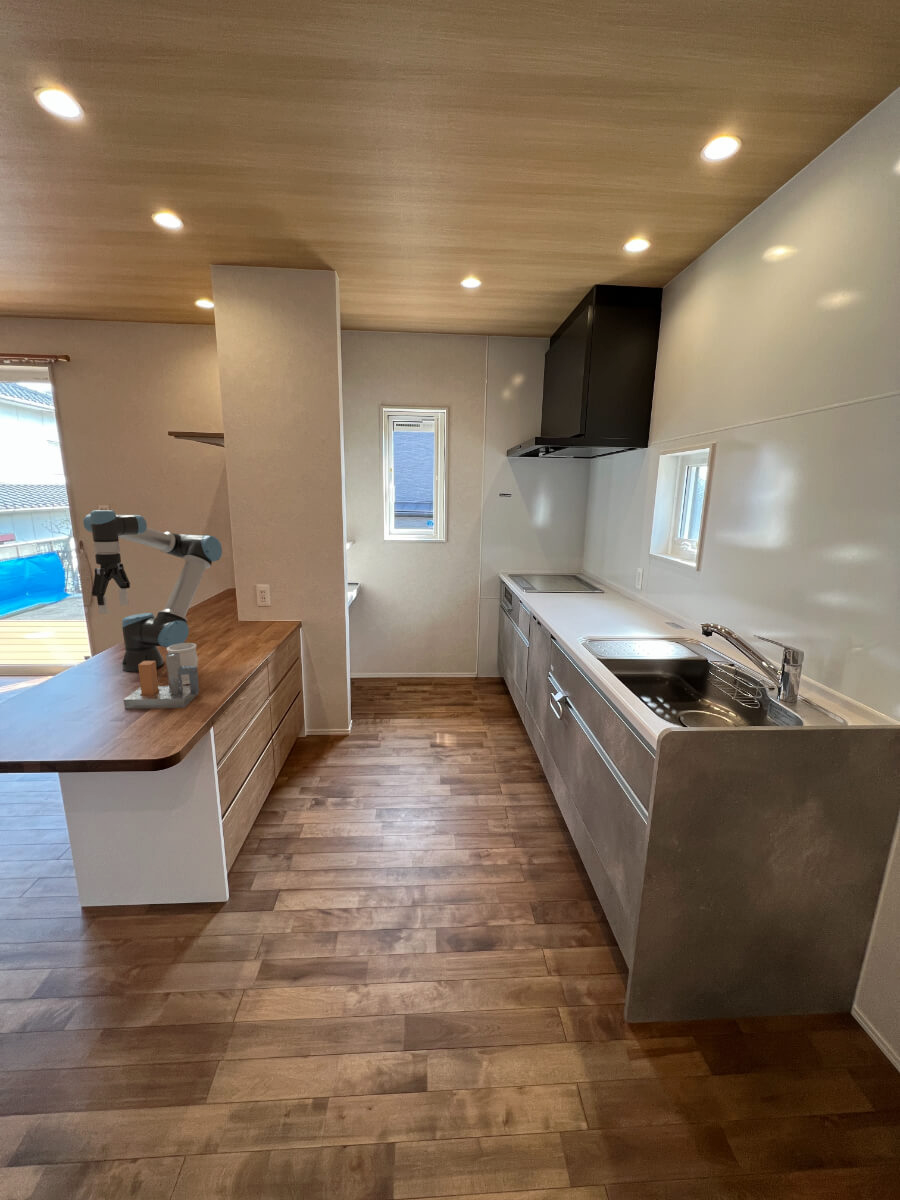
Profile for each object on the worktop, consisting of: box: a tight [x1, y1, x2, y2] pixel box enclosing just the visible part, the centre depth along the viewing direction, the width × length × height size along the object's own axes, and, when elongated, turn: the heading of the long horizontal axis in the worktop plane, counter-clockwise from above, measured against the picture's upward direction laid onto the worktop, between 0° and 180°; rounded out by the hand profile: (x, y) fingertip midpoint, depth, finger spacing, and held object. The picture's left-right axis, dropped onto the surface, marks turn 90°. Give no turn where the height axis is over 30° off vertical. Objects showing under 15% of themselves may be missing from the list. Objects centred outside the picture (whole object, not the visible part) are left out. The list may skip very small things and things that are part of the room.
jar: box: [166, 642, 199, 686], centre depth 192 cm, size 11×10×15 cm
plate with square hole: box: [123, 653, 200, 710], centre depth 173 cm, size 12×22×18 cm, turn 97°
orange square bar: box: [138, 661, 159, 695], centre depth 173 cm, size 4×4×15 cm
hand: (114, 609), depth 179 cm, fingers open, 13 cm apart
